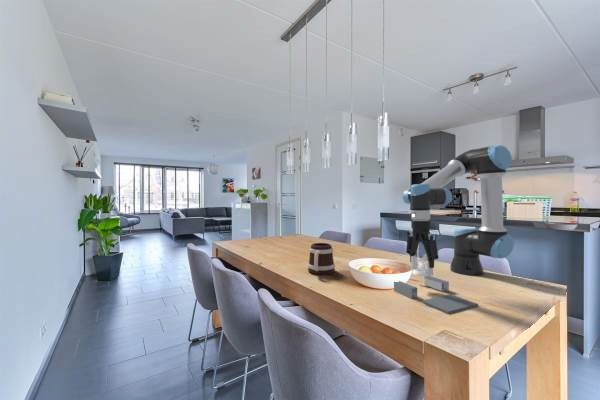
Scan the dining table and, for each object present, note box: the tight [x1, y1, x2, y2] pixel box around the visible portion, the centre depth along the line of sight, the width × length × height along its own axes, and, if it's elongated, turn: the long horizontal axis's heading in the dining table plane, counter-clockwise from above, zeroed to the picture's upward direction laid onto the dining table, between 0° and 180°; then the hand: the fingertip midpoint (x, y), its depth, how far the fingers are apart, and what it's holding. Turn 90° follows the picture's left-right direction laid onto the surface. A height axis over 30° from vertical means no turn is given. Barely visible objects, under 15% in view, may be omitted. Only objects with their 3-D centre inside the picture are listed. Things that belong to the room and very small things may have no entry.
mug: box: [307, 242, 336, 276], centre depth 146 cm, size 20×15×15 cm
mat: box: [421, 293, 479, 315], centre depth 101 cm, size 16×11×1 cm
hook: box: [412, 252, 428, 277], centre depth 115 cm, size 8×12×7 cm
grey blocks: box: [393, 275, 450, 300], centre depth 116 cm, size 21×10×4 cm, turn 113°
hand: (421, 272), depth 116 cm, fingers closed on hook, 8 cm apart
